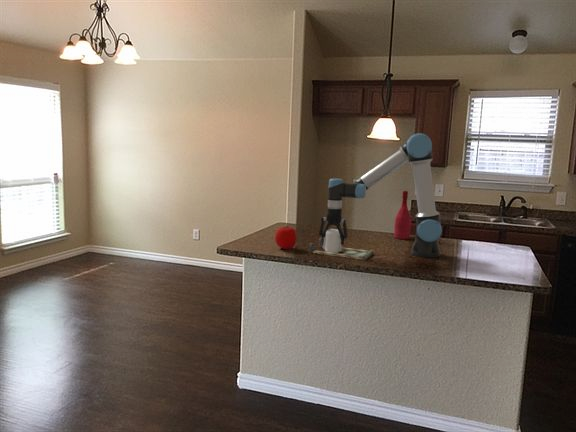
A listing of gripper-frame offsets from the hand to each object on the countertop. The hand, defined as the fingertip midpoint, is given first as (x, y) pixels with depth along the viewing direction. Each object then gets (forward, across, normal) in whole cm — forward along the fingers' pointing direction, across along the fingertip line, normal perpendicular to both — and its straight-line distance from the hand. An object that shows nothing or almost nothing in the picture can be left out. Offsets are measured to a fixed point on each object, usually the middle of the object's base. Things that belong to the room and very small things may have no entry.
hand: (332, 249), depth 252 cm
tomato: (+2, +25, +6) cm, 26 cm away
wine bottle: (+2, -27, -58) cm, 64 cm away
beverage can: (+1, 0, 0) cm, 1 cm away
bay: (+1, -5, 0) cm, 5 cm away
